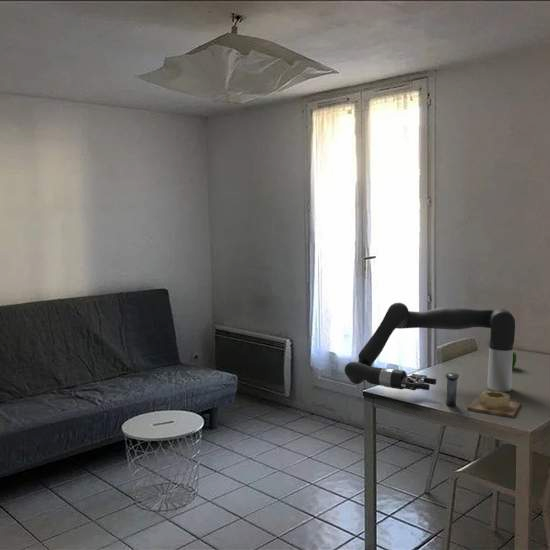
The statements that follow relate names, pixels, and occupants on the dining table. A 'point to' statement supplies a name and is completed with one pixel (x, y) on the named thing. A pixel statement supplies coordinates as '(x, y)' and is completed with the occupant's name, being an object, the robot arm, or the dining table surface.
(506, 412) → the nut base
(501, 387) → the robot arm
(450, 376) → the steel pin
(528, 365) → the dining table surface
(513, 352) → the bell pepper
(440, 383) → the dining table surface
